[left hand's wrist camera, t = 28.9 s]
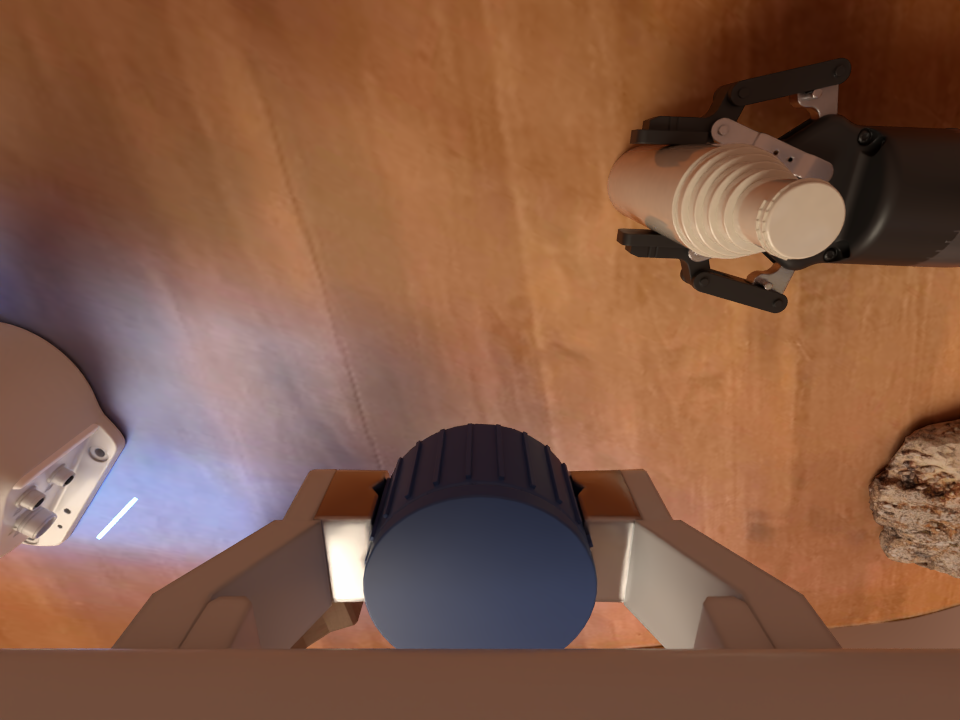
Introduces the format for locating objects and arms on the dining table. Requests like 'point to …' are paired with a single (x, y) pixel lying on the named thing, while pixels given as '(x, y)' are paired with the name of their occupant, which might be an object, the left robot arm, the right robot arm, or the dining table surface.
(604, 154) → the dining table surface
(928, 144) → the right robot arm
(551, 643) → the cap
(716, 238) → the bottle
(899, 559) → the rock
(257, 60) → the dining table surface
